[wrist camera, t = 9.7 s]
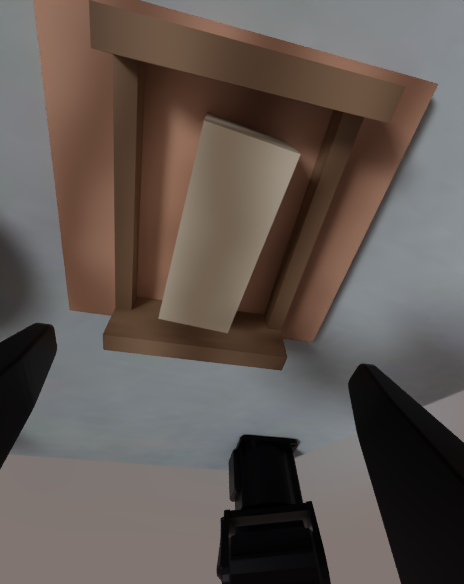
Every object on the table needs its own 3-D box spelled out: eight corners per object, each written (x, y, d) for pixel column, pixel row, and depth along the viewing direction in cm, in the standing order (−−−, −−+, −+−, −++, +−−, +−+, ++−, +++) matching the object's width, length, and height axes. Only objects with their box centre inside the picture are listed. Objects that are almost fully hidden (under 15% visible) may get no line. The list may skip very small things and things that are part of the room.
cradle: (424, 83, 15) (503, 84, 11) (309, 331, 25) (327, 384, 20) (44, -22, 13) (-44, -74, 8) (76, 299, 22) (42, 351, 18)
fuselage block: (283, 139, 15) (300, 154, 12) (226, 293, 21) (227, 333, 17) (207, 112, 15) (203, 120, 11) (168, 279, 20) (158, 318, 17)
